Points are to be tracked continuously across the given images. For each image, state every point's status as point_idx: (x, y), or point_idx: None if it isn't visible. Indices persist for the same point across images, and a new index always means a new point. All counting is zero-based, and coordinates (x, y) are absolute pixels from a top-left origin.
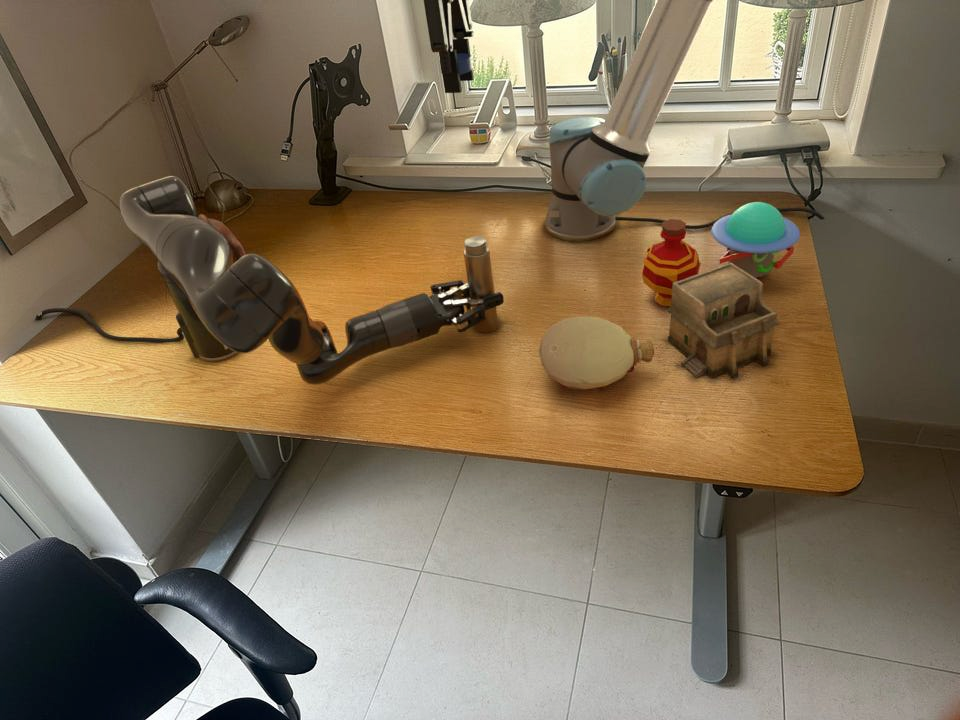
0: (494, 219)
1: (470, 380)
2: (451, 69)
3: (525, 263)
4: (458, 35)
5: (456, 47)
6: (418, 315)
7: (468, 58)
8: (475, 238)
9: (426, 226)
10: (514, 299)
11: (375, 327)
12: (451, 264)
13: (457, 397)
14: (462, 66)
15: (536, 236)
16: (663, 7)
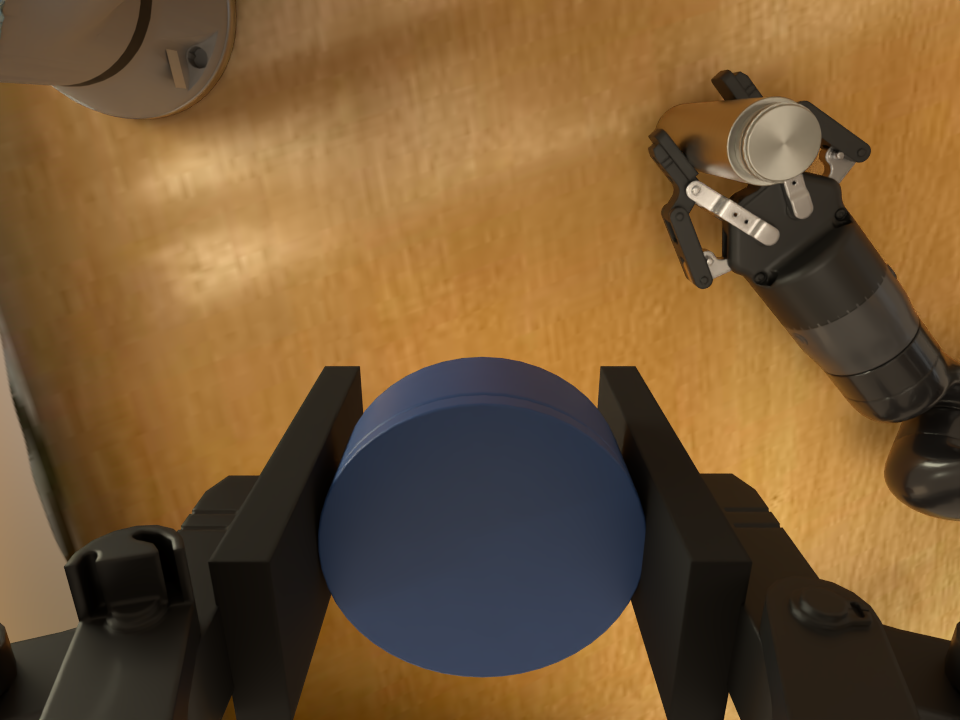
0: (166, 286)
1: (897, 102)
2: (729, 491)
3: (381, 120)
4: (215, 700)
5: (305, 625)
6: (876, 259)
7: (523, 408)
8: (765, 148)
9: (251, 452)
10: (561, 97)
11: (928, 344)
12: (422, 321)
13: (956, 112)
14: (600, 425)
15: (229, 131)
16: None
